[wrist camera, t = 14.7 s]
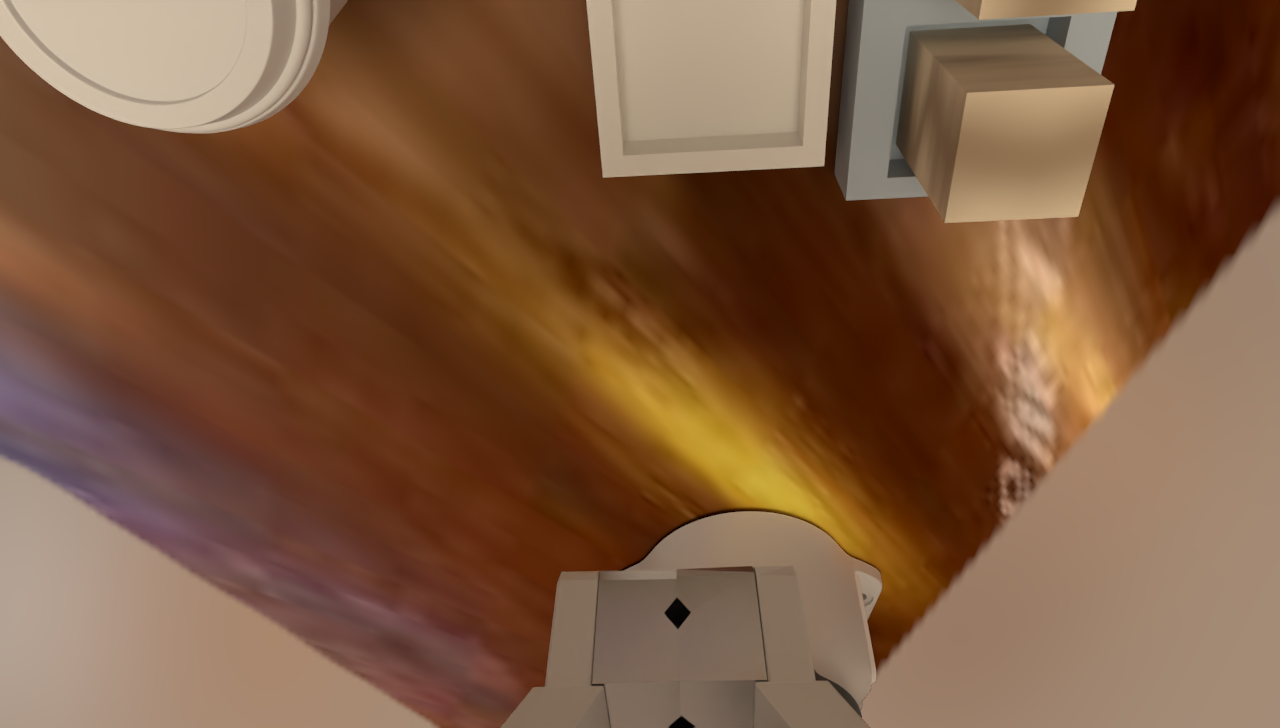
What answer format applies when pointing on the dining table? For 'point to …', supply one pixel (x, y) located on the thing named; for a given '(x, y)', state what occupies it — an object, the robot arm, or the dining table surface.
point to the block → (1041, 7)
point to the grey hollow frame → (875, 75)
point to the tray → (711, 84)
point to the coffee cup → (173, 56)
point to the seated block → (1000, 122)
